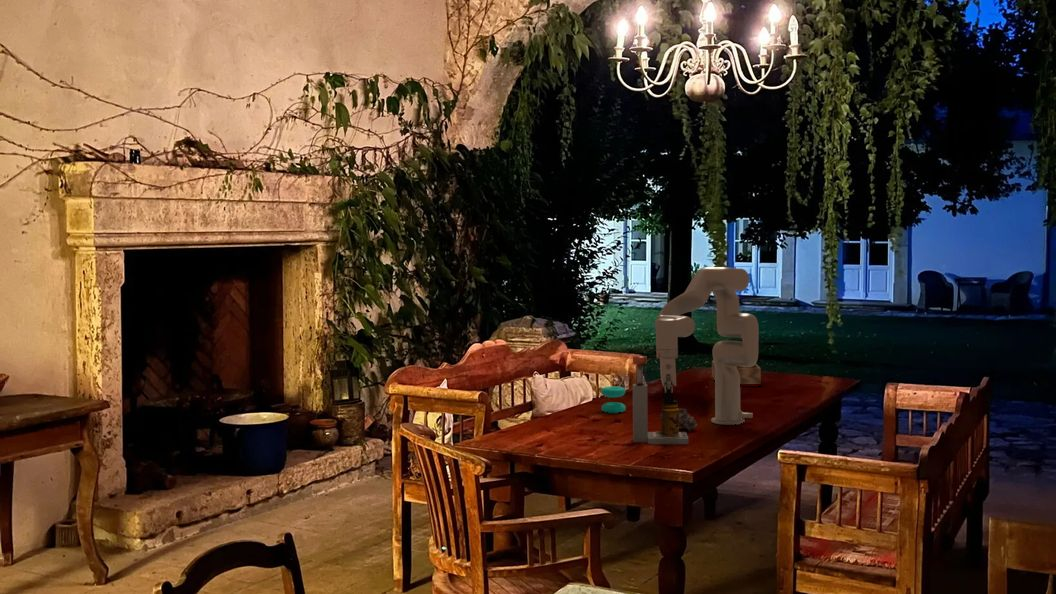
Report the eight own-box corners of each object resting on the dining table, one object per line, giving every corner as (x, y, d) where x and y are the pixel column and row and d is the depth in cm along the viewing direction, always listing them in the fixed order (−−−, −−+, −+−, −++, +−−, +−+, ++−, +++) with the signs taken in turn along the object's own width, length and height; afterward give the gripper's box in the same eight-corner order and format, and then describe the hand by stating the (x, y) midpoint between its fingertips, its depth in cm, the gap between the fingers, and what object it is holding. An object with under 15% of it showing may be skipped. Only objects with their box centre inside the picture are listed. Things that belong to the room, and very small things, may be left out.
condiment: (680, 436, 367) (680, 402, 367) (655, 436, 368) (655, 402, 367) (679, 432, 375) (679, 399, 374) (655, 432, 375) (655, 399, 375)
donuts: (627, 386, 435) (623, 389, 426) (627, 410, 436) (623, 414, 426) (603, 385, 438) (599, 389, 428) (603, 409, 438) (599, 413, 429)
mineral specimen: (655, 420, 391) (671, 398, 391) (665, 424, 399) (680, 403, 398) (680, 438, 384) (696, 416, 384) (689, 443, 392) (704, 421, 392)
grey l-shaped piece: (686, 437, 377) (685, 382, 375) (688, 444, 365) (688, 387, 363) (633, 437, 378) (632, 382, 377) (633, 444, 366) (633, 387, 365)
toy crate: (752, 378, 522) (752, 360, 521) (760, 387, 493) (760, 368, 492) (711, 378, 523) (711, 360, 523) (717, 387, 495) (717, 368, 494)
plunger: (646, 391, 373) (646, 355, 372) (647, 394, 368) (647, 357, 367) (632, 391, 374) (632, 355, 373) (633, 394, 369) (632, 357, 368)
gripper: (679, 356, 360) (680, 405, 362) (676, 349, 378) (677, 396, 379) (657, 357, 361) (658, 406, 363) (655, 350, 378) (656, 396, 380)
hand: (668, 401), depth 371 cm, fingers open, 9 cm apart
